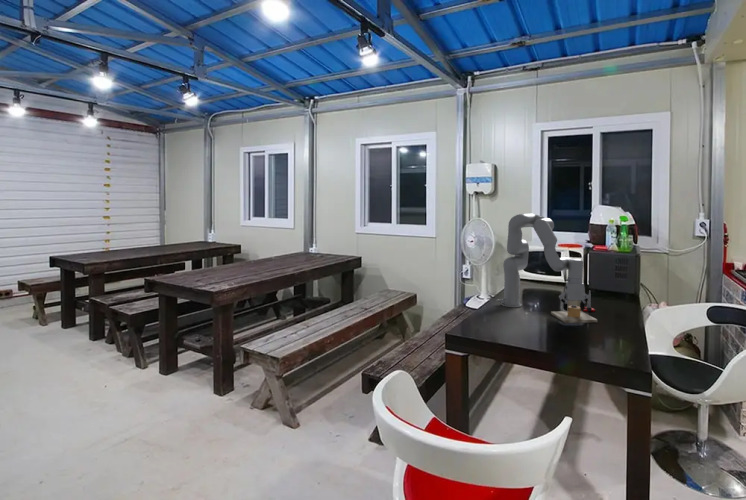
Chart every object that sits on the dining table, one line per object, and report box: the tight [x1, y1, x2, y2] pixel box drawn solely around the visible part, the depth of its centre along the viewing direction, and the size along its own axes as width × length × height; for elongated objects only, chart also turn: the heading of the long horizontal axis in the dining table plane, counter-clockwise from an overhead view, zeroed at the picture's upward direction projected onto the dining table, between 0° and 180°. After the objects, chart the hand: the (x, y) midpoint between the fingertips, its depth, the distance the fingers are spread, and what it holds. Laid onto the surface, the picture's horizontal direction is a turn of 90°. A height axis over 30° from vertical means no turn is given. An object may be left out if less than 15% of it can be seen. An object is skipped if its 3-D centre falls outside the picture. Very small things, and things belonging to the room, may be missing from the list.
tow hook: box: [582, 290, 596, 313], centre depth 260 cm, size 8×13×9 cm
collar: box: [567, 305, 582, 317], centre depth 243 cm, size 6×6×5 cm
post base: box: [550, 304, 598, 324], centre depth 243 cm, size 18×18×8 cm
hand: (573, 309), depth 242 cm, fingers open, 9 cm apart
